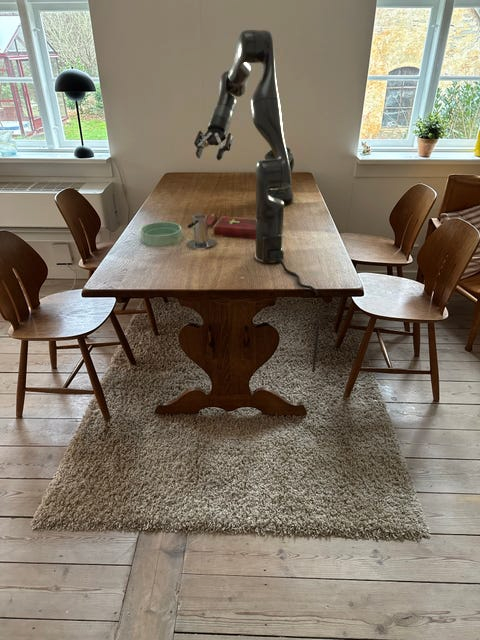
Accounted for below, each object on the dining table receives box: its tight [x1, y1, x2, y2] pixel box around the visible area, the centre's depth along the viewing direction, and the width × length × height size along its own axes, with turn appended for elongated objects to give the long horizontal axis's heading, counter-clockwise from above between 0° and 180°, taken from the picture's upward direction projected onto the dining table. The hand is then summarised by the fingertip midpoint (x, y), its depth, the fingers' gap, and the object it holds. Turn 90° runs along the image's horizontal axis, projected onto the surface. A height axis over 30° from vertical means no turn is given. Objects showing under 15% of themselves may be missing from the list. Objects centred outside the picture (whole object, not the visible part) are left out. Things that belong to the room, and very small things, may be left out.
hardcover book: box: [212, 215, 256, 240], centre depth 179 cm, size 12×21×4 cm, turn 76°
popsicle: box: [206, 213, 217, 228], centre depth 191 cm, size 4×2×15 cm
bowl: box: [140, 221, 183, 247], centre depth 173 cm, size 15×15×4 cm
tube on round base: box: [187, 214, 209, 245], centre depth 165 cm, size 11×5×10 cm, turn 156°
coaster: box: [187, 238, 216, 250], centre depth 170 cm, size 10×10×1 cm
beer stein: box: [264, 147, 295, 207], centre depth 210 cm, size 16×19×25 cm
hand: (207, 158), depth 170 cm, fingers open, 8 cm apart
